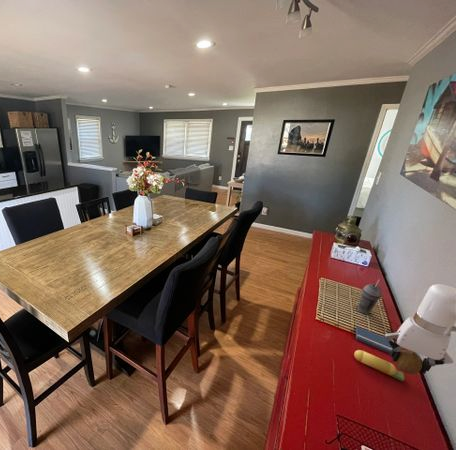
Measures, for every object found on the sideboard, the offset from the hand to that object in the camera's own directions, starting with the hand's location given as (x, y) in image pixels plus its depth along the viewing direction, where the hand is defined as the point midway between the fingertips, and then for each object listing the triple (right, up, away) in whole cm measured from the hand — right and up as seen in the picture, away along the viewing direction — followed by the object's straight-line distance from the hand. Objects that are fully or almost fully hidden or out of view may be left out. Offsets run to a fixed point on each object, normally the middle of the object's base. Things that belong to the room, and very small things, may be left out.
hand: (407, 363), depth 79 cm
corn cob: (+2, -9, +13) cm, 16 cm away
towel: (+11, -4, +25) cm, 28 cm away
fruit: (0, -3, +1) cm, 3 cm away
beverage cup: (+22, +2, +42) cm, 48 cm away
